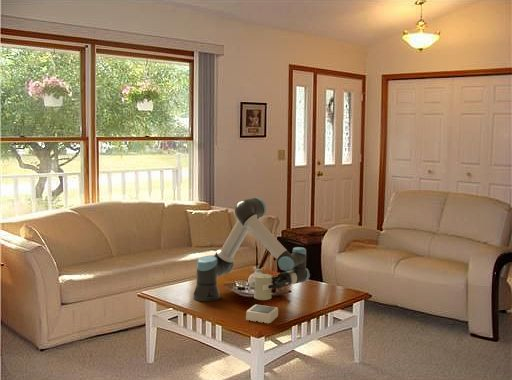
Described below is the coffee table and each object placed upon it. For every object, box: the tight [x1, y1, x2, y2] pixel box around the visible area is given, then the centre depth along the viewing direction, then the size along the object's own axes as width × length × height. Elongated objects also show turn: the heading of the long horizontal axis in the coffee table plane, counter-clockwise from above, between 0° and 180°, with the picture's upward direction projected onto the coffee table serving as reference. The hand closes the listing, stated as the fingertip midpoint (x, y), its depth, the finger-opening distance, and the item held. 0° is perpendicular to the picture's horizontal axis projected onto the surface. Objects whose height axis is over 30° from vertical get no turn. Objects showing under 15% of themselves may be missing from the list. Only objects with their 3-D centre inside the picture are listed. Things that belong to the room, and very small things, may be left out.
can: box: [253, 273, 273, 301], centre depth 326 cm, size 9×9×12 cm
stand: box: [245, 304, 279, 324], centre depth 328 cm, size 13×13×5 cm
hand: (256, 285), depth 323 cm, fingers closed on can, 9 cm apart
